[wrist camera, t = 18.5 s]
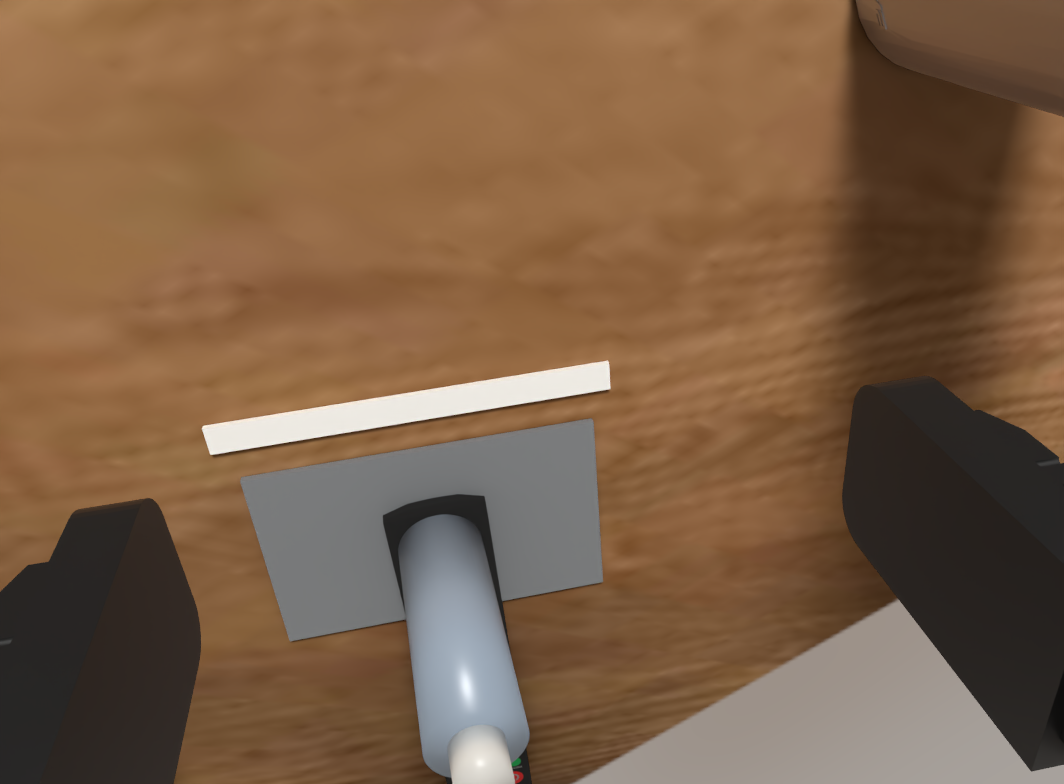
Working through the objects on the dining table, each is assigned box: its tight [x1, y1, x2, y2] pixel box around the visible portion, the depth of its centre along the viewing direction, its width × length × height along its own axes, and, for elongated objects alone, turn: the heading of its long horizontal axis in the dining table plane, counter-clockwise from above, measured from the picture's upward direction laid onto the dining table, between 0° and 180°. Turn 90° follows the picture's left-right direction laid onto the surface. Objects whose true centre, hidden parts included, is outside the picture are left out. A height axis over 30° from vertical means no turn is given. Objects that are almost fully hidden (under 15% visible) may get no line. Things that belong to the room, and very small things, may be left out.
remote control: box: [383, 494, 532, 784], centre depth 51 cm, size 5×24×1 cm, turn 7°
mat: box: [240, 418, 603, 641], centre depth 47 cm, size 18×11×1 cm, turn 96°
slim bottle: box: [398, 514, 530, 784], centre depth 40 cm, size 4×4×14 cm
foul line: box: [202, 361, 610, 455], centre depth 43 cm, size 20×2×1 cm, turn 95°
